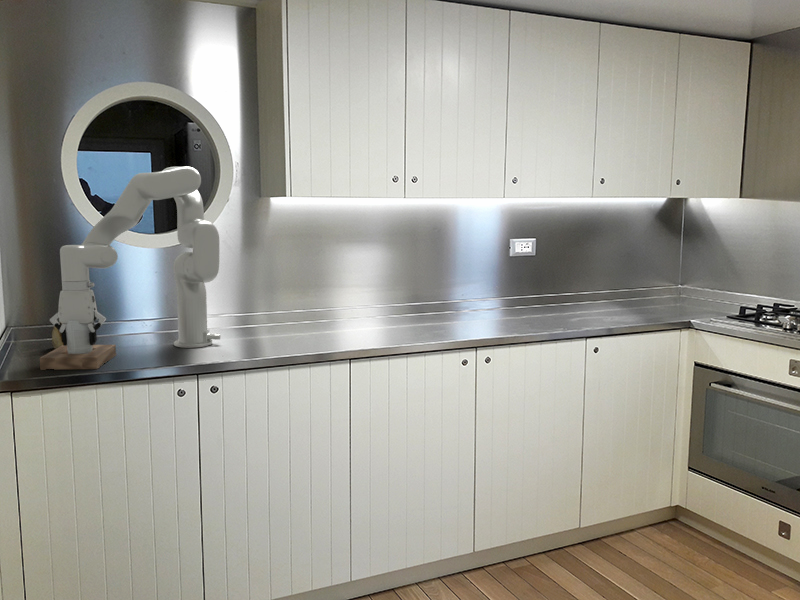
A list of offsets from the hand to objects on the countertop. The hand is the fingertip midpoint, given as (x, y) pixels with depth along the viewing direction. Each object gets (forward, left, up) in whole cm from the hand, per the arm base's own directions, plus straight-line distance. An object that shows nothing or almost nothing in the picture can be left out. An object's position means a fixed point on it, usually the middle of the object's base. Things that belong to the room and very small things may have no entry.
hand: (79, 344), depth 215 cm
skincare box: (0, 0, -5) cm, 5 cm away
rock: (+11, -19, -6) cm, 23 cm away
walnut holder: (0, 0, -6) cm, 6 cm away
